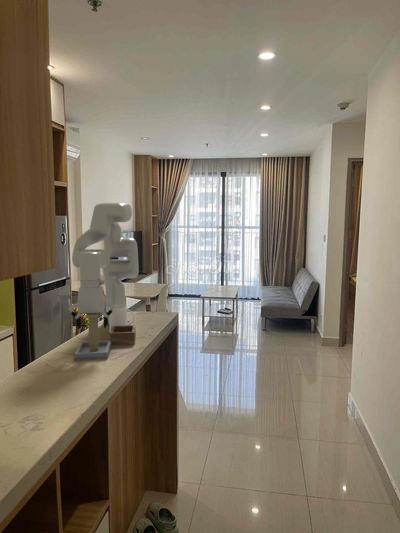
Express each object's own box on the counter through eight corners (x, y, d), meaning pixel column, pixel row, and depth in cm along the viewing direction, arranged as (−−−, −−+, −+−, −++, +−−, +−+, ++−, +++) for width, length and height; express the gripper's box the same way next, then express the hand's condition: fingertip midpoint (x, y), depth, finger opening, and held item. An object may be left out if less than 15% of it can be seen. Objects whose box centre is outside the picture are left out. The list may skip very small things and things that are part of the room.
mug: (137, 329, 184) (136, 304, 182) (131, 335, 175) (130, 309, 174) (113, 328, 185) (112, 304, 184) (106, 334, 177) (105, 308, 175)
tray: (81, 347, 159) (80, 341, 158) (111, 346, 160) (111, 340, 160) (74, 360, 145) (74, 354, 145) (107, 358, 146) (107, 352, 146)
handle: (102, 347, 156) (102, 311, 154) (96, 353, 149) (96, 315, 147) (91, 347, 156) (90, 310, 154) (84, 352, 150) (83, 314, 148)
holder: (112, 337, 172) (112, 326, 172) (135, 336, 174) (135, 325, 173) (110, 345, 162) (109, 333, 161) (134, 344, 163) (134, 332, 162)
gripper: (114, 281, 154) (116, 323, 156) (69, 283, 152) (71, 325, 154) (112, 284, 146) (114, 329, 149) (65, 286, 144) (67, 331, 146)
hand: (92, 327), depth 151 cm, fingers open, 9 cm apart
